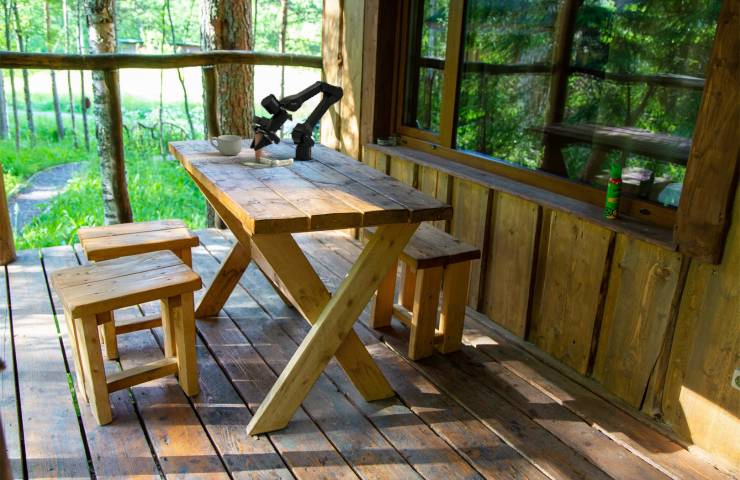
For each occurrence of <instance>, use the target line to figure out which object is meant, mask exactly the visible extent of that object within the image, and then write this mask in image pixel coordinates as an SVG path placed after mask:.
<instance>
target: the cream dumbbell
mask: <svg viewBox="0 0 740 480" xmlns="http://www.w3.org/2000/svg"><path fill="white" fill-rule="evenodd" d="M279 160H280V159H277V160H274V161H275V165H276V167H275V168H279V165H282V164H290V165H289V166H293V165H294V158H288V159H282V160H281V161H279ZM282 162H283V163H282Z"/></svg>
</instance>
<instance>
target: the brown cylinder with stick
mask: <svg viewBox="0 0 740 480" xmlns="http://www.w3.org/2000/svg"><path fill="white" fill-rule="evenodd" d="M254 136H255V146H256V144H257V143H258V142H259V140H260V138H261V134H255V135H254ZM254 151H255V150H254ZM254 153H255V155H254V157H255V158H254V159H255V161H261V162H264V163H267V164H270V165H275V161H272V160H269V159H265V158H266V157H263V148H261V149H259V150H257V151H255V152H254Z"/></svg>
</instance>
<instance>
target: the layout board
mask: <svg viewBox="0 0 740 480" xmlns="http://www.w3.org/2000/svg"><path fill="white" fill-rule="evenodd" d="M264 158H265V159H269V160H272V161H274V160H279V161H282V160H281V159H276V158H272V157H264ZM237 162H238V163H237ZM234 163H237V164H240V165H244V166H247V167H249V166H250V168H253V169H255V168H256V170H261V169H270V168H271V169H272V168H277V167H276V165H270V164H267V163H264V162H261V161H255V158H250V159H241V160H240V159H239V160H234ZM282 163H283V162H282ZM286 166H287V167H288V166H291V165H290V164H282V165H279V167H286ZM279 167H278V168H279Z"/></svg>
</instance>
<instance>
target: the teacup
mask: <svg viewBox="0 0 740 480" xmlns="http://www.w3.org/2000/svg"><path fill="white" fill-rule="evenodd" d="M213 140H215V141H216V143H217V145H216V144H215V143H214V142H213ZM209 143H210V145H211V146H212V147H213V148H216V150H217V151H219V152H220V153H221V155H223V156H226V155H236V156H238V155H239V154H240V153H241V152H242V149H243V137H242V136H239V135H233V134H224V135H223V134H222V135H219V136H217V137H216V136H213V137H211V138H210V140H209Z"/></svg>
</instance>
